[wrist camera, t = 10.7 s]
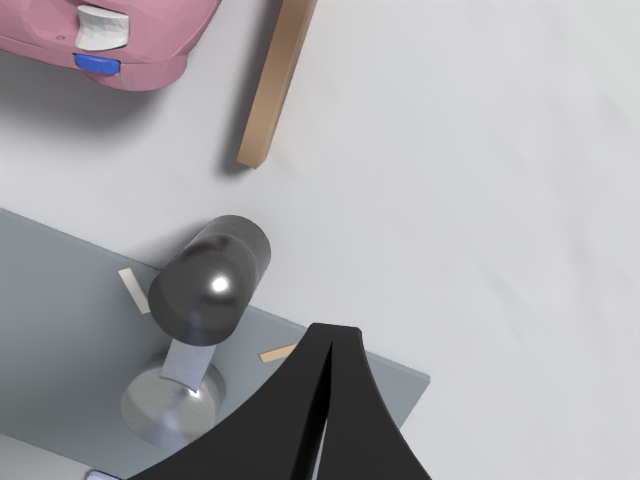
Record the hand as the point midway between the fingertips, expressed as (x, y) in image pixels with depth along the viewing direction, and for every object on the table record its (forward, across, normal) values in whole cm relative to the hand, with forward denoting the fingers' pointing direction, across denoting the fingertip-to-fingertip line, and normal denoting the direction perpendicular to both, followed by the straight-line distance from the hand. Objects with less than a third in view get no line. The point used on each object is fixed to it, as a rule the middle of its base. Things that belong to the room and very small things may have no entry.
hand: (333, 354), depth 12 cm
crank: (+7, +6, +5) cm, 10 cm away
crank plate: (+7, +8, +10) cm, 15 cm away
